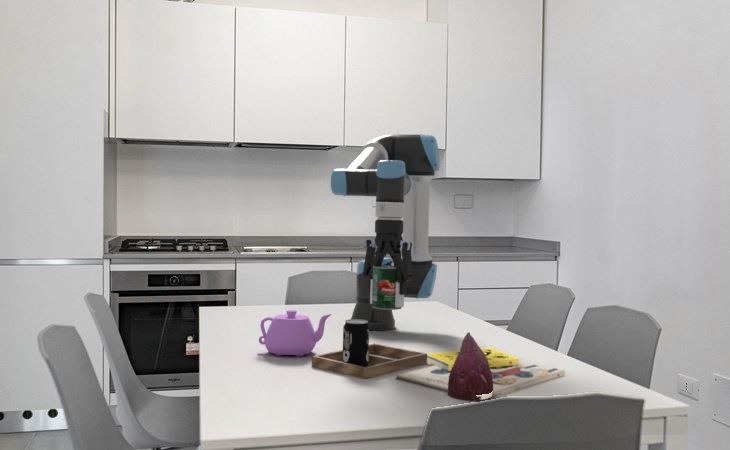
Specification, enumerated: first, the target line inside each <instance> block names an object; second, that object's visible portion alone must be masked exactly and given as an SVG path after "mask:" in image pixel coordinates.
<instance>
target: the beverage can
mask: <svg viewBox="0 0 730 450" xmlns="http://www.w3.org/2000/svg"><path fill="white" fill-rule="evenodd" d="M344 322H345V323H344V325H343V328H342V331H343V333H342V350H343V356H342V361H341V362H345V363H349V364H354V365H358V366H363V367H368V366H369V365H368V358H369V345H370V330H369V325H368V321H366V320H361V319H351V318H350V319H345V320H344Z"/></svg>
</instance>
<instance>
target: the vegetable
mask: <svg viewBox="0 0 730 450" xmlns="http://www.w3.org/2000/svg"><path fill="white" fill-rule="evenodd" d="M492 391H493V392H494V379H493V374H492V371H491V367H490V363H489V360H488V358H487V356H486V354H485V353H484V351H483V350H482V348H481V347H480V345H478V343H477V341H476V340H475V339H474V337H473V336H472V335H471V333H470V331H469V332H467V333H466V334H465V336H463V339H462V342H461V346H460V349H459V352H458V355H457V356H456V358H455V361H454V363H453V365H452V366H451V369H450V371H449V376H448V383H447V395H448V396H449V397H452V398H454V399H458V400H463V401H468V402H474V401H473V400H476V401H475V402H482V401H481V400H480V399H479V398H480V397H477V396H476V395H482V394H489V393H491V392H492Z"/></svg>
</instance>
